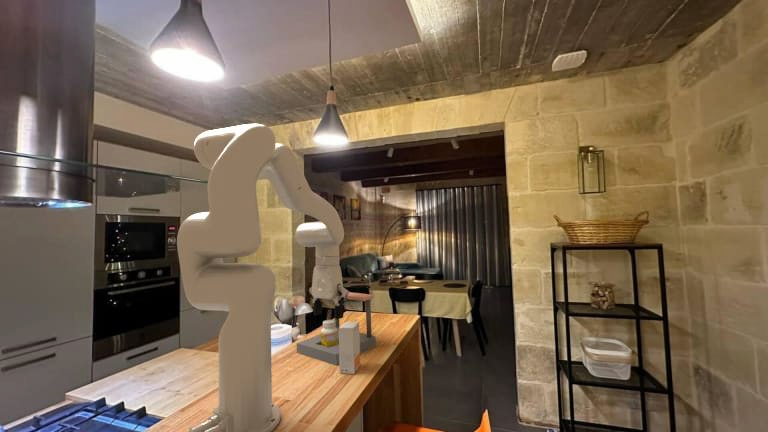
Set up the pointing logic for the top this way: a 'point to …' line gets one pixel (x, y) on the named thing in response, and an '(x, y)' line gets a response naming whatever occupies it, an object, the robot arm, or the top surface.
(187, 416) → the top surface
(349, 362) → the skincare box
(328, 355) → the socket block
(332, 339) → the supplement bottle
